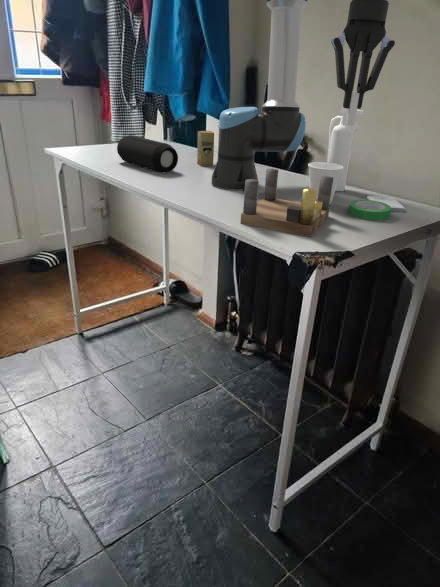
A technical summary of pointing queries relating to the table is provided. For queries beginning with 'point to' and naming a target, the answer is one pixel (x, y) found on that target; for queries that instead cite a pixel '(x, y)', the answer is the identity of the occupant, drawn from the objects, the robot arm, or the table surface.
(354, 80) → the robot arm
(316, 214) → the leg
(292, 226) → the wooden peg board
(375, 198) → the external hard drive
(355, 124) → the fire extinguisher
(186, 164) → the table surface
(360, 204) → the tape roll
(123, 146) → the portable speaker
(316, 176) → the cup
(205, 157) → the shoe polish box
